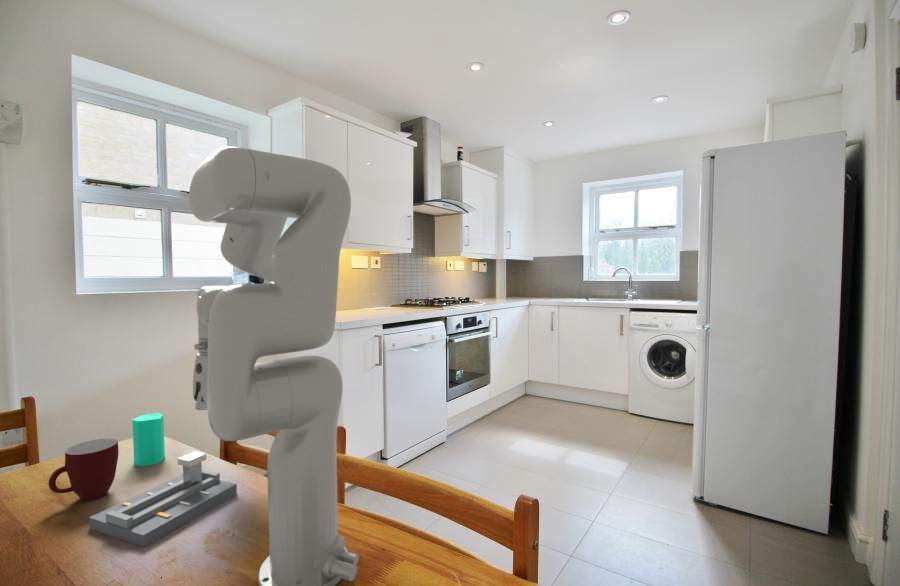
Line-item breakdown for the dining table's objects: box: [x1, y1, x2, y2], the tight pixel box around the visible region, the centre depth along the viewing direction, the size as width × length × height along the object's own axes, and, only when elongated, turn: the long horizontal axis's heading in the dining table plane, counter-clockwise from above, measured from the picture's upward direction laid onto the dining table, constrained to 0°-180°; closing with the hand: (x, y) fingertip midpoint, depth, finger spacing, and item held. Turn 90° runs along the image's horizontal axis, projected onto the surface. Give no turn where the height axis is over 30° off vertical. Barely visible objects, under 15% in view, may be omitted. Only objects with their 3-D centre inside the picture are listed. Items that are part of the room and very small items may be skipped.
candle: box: [131, 410, 166, 467], centre depth 101 cm, size 6×6×12 cm
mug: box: [48, 438, 119, 502], centre depth 84 cm, size 11×8×10 cm
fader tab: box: [177, 450, 207, 488], centre depth 84 cm, size 3×4×6 cm
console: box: [88, 468, 238, 548], centre depth 80 cm, size 14×18×4 cm
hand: (221, 430), depth 91 cm, fingers closed
